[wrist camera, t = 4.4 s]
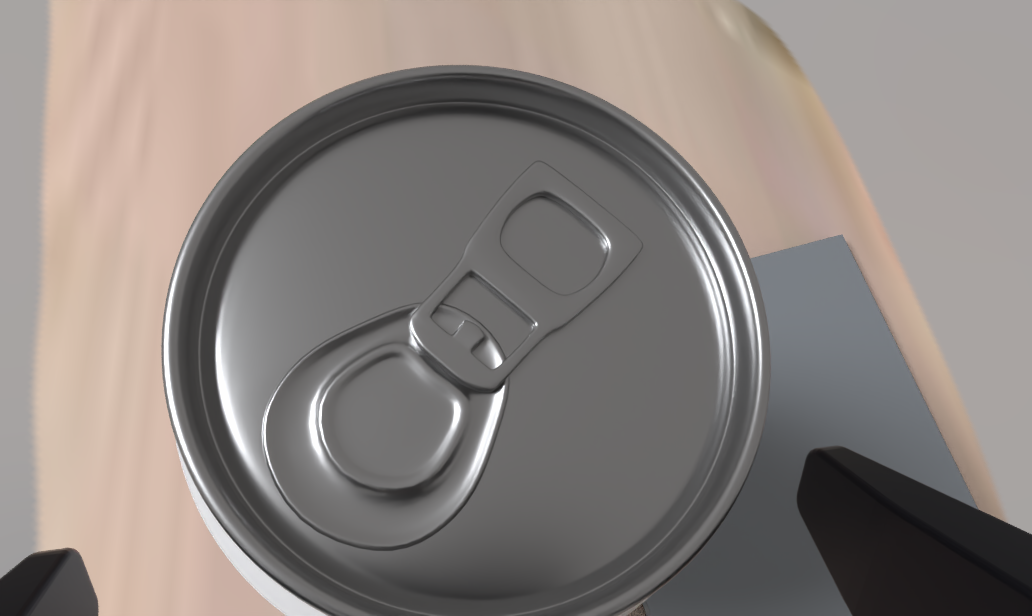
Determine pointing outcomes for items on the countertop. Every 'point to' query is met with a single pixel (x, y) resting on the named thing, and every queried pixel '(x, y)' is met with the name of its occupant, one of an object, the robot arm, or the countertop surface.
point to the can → (463, 353)
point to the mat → (811, 439)
